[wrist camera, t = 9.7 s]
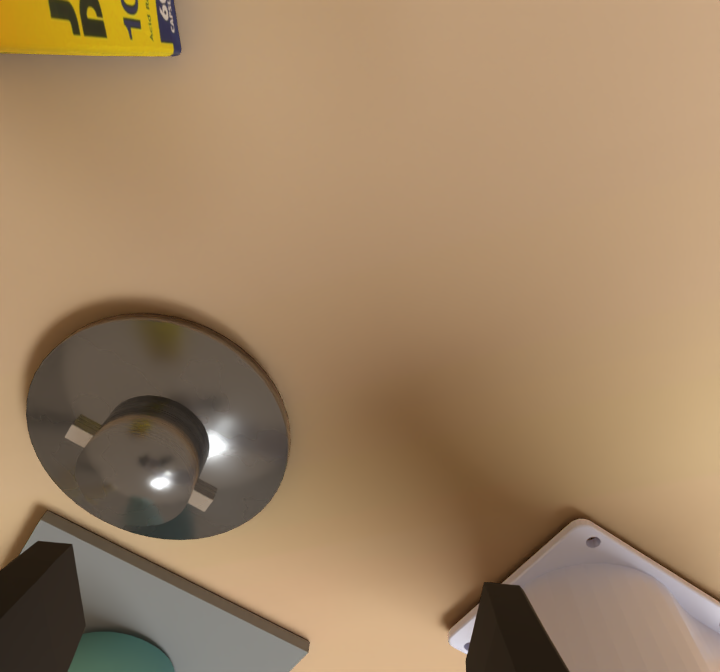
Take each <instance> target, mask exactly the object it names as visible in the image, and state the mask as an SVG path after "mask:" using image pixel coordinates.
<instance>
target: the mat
mask: <svg viewBox="0 0 720 672" xmlns="http://www.w3.org/2000/svg"><path fill="white" fill-rule="evenodd" d="M37 541H46V542H57V543H68V544H72V545H73V551H74V557H75V563H76V569H77V575H78V581H79V587H80V593H81V599H82V605H83V611H84V618H85V624H86V627H85V629H84V632H83V634H85V633H91V632H117V633H122V634H127V635H131V636H134V637H137V638H140V639H142V640H144V641H147V642H148V643H150V644H152V645H154V646H155V647H157V648H158V649H160V650H161V651H162V652H163V653H164V654H165V655H166V656H167V657H168V658H169V660H170V661H171V663H172V665H173V667H174V670H175V672H289V671H290V670H291V669H292V668H293V667H294V666H295V665H296V664H297V663H298V662H299V661H300V660H301V659H302V658H303V657H304V656H305V655H306V654H307V653H308V651H309V644H310V642H309V641H307V640H305V639H303V638H301V637H299V636H297V635H295V634H293V633H291V632H289V631H287V630H285V629H283V628H281V627H279V626H277V625H275V624H273V623H271V622H269V621H267V620H265V619H263V618H261V617H259V616H257V615H255V614H253V613H251V612H249V611H247V610H245V609H243V608H241V607H239V606H237V605H235V604H233V603H231V602H229V601H227V600H225V599H223V598H221V597H219V596H217V595H215V594H213V593H211V592H209V591H207V590H205V589H203V588H201V587H199V586H197V585H195V584H193V583H191V582H189V581H187V580H185V579H183V578H181V577H179V576H177V575H175V574H173V573H171V572H169V571H167V570H165V569H163V568H161V567H159V566H157V565H155V564H153V563H151V562H149V561H147V560H145V559H143V558H141V557H139V556H137V555H135V554H133V553H131V552H129V551H127V550H125V549H123V548H121V547H119V546H117V545H115V544H113V543H111V542H109V541H107V540H105V539H103V538H101V537H99V536H97V535H95V534H93V533H91V532H89V531H87V530H85V529H83V528H81V527H79V526H77V525H75V524H73V523H71V522H69V521H68V520H66V519H64V518H62V517H60V516H58V515H56V514H54V513H52V512H50V511H48V510H47V511H46V513H45V514H44V515H43V517H42V518H41V520H40V521H39V523H38V525H37V526H36V528H35V530H34V531H33V533H32V535H31V536H30V538H29V540H28V541H27V543H26V545H25V546H24V548H23V550H22V551H21V553H20V554H22V553H23V552H24V551H25V550H27V549H28V548H29V547H31V546H32V545H33V544H34V543H36V542H37Z"/></svg>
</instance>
